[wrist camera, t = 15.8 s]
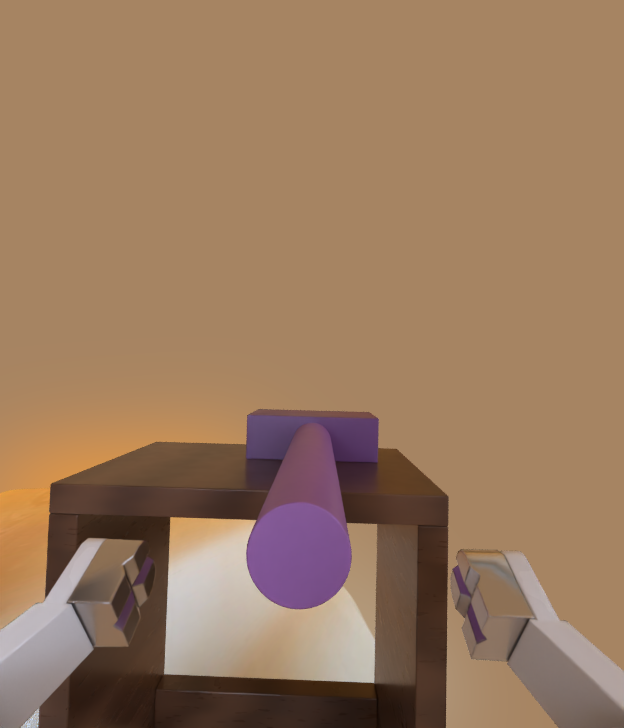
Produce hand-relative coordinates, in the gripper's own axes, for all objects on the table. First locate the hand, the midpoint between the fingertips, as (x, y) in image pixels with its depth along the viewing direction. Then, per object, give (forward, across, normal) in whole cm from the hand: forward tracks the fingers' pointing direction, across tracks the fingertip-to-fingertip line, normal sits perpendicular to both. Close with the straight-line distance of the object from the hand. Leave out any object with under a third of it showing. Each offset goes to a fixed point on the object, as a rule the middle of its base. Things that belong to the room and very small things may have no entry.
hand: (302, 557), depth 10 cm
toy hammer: (+8, 0, +6) cm, 10 cm away
